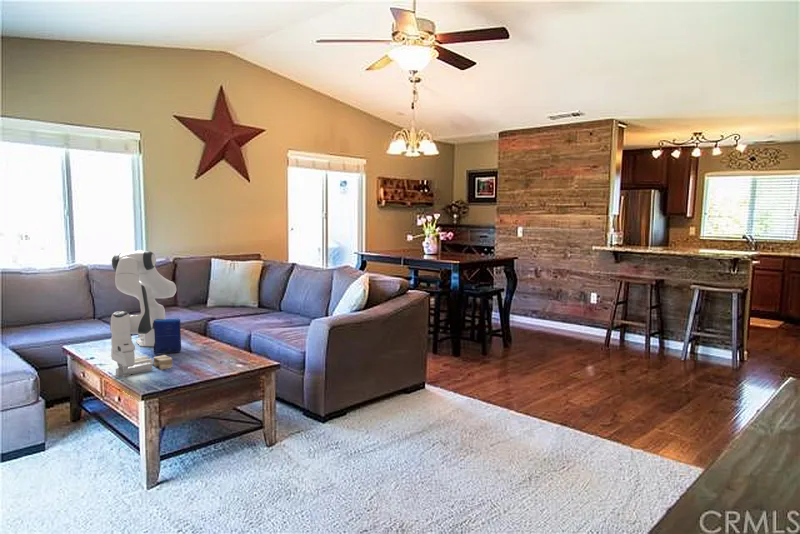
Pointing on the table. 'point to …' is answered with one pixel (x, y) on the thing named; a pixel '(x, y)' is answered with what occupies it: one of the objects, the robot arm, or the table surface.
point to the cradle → (142, 360)
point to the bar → (134, 369)
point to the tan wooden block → (163, 362)
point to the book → (167, 336)
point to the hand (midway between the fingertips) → (123, 371)
